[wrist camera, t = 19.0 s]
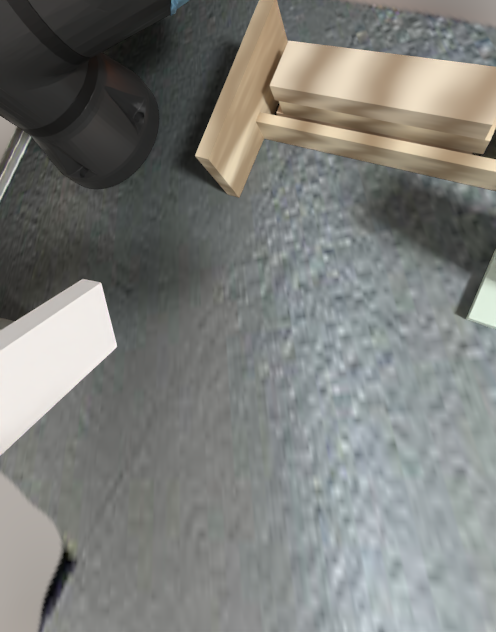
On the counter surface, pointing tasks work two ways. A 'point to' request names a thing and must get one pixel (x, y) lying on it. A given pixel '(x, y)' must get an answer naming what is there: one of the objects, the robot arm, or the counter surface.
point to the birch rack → (304, 123)
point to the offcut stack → (388, 95)
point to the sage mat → (485, 298)
